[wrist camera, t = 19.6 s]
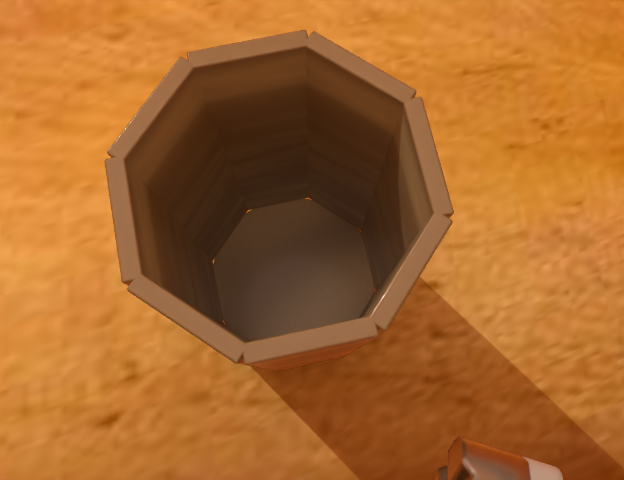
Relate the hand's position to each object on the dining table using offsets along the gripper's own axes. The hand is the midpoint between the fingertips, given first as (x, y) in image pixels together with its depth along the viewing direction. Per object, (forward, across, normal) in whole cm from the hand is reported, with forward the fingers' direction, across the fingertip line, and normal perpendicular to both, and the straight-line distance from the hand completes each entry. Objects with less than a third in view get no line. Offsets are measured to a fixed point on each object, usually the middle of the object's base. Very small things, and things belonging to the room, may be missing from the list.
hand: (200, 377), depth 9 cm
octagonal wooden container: (+11, 0, +6) cm, 13 cm away
